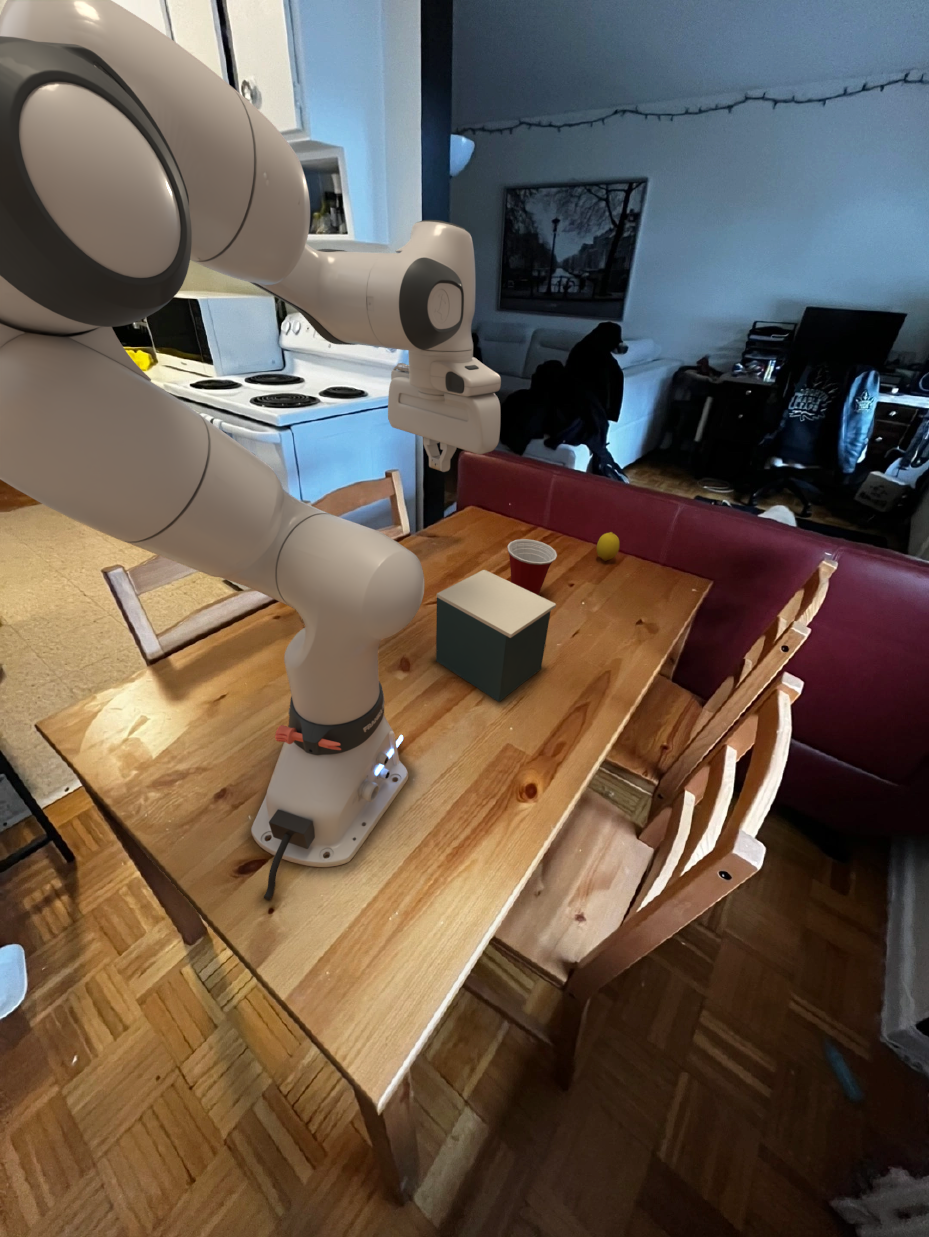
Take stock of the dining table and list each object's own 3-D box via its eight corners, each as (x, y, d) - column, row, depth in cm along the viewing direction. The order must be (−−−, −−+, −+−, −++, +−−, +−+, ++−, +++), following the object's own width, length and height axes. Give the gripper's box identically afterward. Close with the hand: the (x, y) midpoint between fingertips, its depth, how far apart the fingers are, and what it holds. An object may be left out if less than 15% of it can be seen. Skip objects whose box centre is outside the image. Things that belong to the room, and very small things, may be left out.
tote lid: (555, 607, 84) (556, 603, 84) (510, 638, 77) (510, 634, 76) (483, 572, 93) (484, 569, 93) (436, 597, 85) (436, 593, 85)
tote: (541, 669, 93) (551, 605, 85) (498, 702, 85) (506, 635, 77) (479, 633, 101) (483, 572, 93) (435, 661, 94) (436, 597, 85)
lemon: (618, 559, 131) (625, 531, 126) (611, 567, 127) (618, 539, 122) (598, 553, 133) (604, 526, 128) (590, 561, 129) (596, 533, 124)
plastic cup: (549, 611, 109) (557, 563, 102) (500, 605, 110) (505, 557, 103) (550, 586, 118) (557, 540, 111) (504, 581, 119) (509, 535, 112)
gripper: (375, 362, 73) (380, 457, 81) (479, 384, 62) (473, 491, 70) (407, 359, 77) (409, 450, 85) (511, 379, 66) (502, 481, 74)
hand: (439, 469), depth 77 cm, fingers closed
